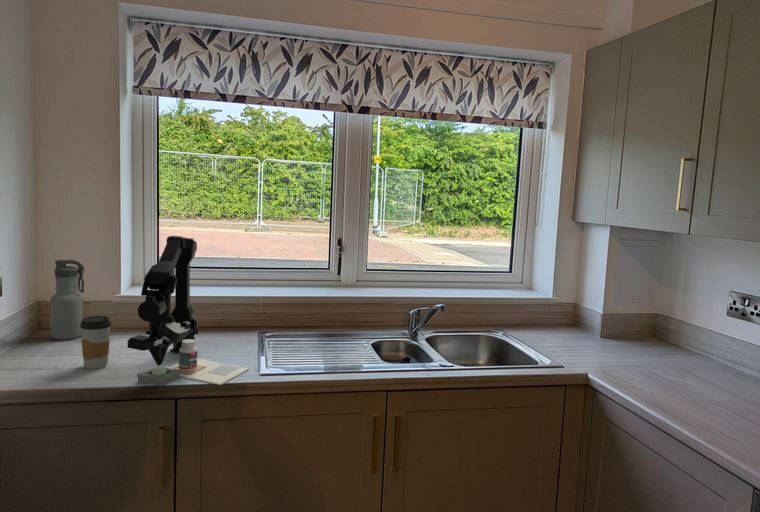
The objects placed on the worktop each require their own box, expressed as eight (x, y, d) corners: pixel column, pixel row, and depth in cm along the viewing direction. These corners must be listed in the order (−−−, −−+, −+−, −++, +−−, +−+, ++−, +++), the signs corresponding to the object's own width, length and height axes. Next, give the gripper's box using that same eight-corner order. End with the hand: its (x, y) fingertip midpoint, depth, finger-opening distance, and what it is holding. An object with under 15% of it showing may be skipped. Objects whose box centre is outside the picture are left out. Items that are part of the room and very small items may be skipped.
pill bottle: (190, 372, 154) (191, 344, 153) (175, 370, 155) (175, 342, 154) (200, 367, 159) (200, 339, 158) (185, 365, 160) (185, 337, 159)
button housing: (137, 381, 146) (137, 374, 145) (157, 373, 153) (158, 366, 153) (160, 386, 143) (160, 379, 143) (179, 377, 151) (179, 370, 150)
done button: (148, 377, 147) (148, 369, 147) (158, 373, 151) (158, 365, 150) (159, 379, 146) (159, 371, 145) (169, 375, 149) (169, 367, 149)
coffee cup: (117, 364, 158) (117, 317, 156) (94, 372, 150) (94, 323, 149) (97, 360, 161) (97, 314, 159) (73, 367, 153) (73, 319, 151)
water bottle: (80, 331, 190) (79, 257, 186) (86, 337, 183) (86, 261, 179) (48, 335, 183) (47, 258, 180) (53, 342, 176) (52, 262, 172)
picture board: (159, 372, 154) (159, 370, 154) (191, 358, 168) (192, 357, 168) (220, 385, 147) (220, 383, 147) (249, 369, 161) (249, 368, 161)
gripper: (159, 323, 135) (158, 380, 136) (204, 310, 152) (202, 360, 154) (126, 318, 138) (125, 373, 140) (173, 305, 156) (173, 354, 158)
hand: (159, 365), depth 148 cm, fingers closed
